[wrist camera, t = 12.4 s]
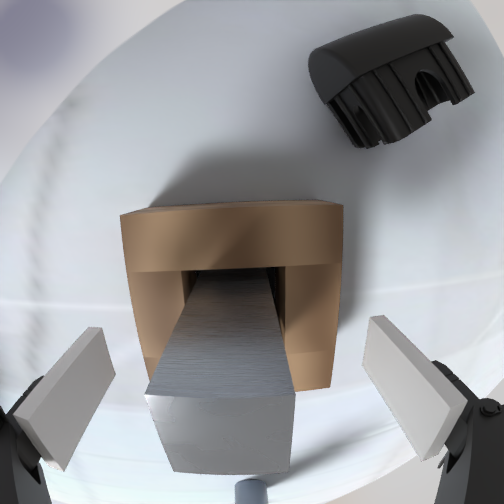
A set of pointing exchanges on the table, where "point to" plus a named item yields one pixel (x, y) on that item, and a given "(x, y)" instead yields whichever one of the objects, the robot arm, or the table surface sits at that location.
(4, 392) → the table surface
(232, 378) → the square peg
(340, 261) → the socket block
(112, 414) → the table surface
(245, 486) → the round peg
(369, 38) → the end cap
